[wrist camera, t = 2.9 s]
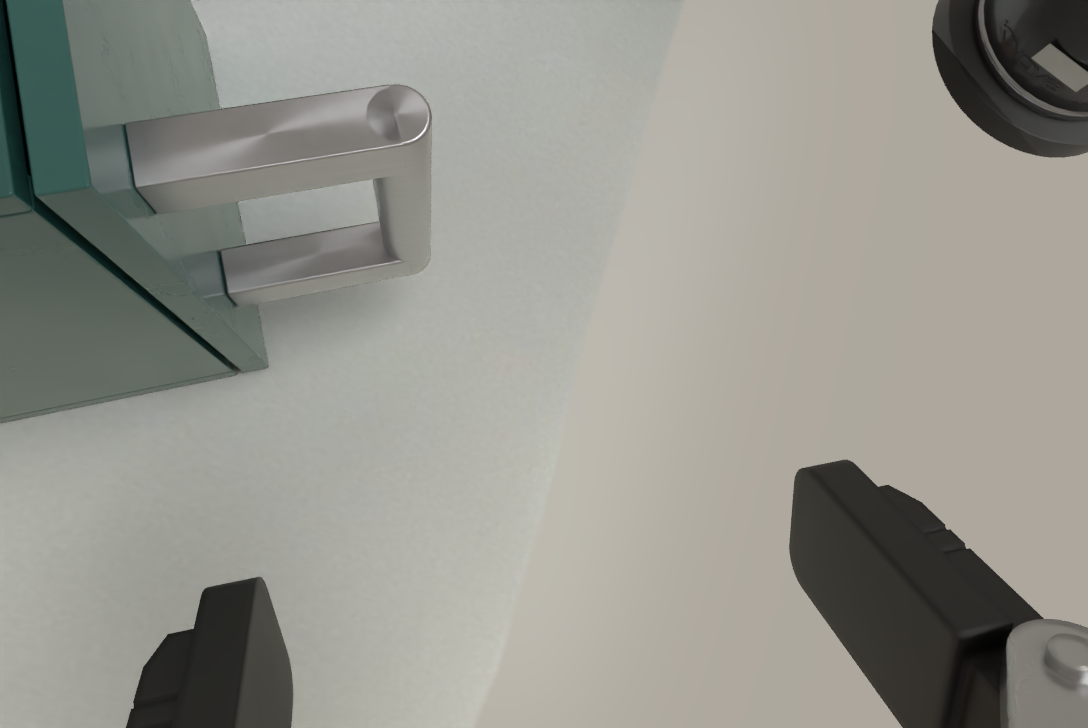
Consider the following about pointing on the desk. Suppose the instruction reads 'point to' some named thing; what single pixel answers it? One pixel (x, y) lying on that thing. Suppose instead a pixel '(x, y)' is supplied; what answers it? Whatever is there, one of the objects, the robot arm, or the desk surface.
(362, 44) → the desk surface
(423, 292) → the desk surface
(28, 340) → the fridge
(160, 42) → the fridge door
